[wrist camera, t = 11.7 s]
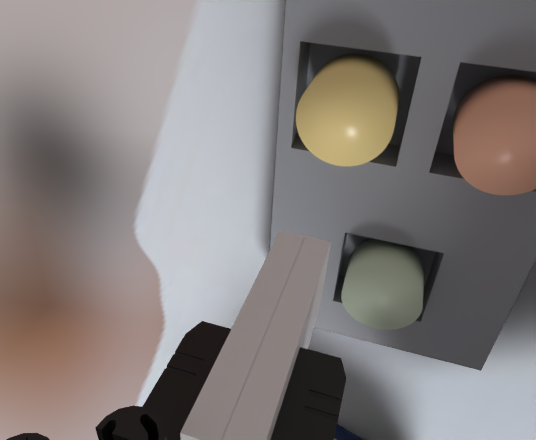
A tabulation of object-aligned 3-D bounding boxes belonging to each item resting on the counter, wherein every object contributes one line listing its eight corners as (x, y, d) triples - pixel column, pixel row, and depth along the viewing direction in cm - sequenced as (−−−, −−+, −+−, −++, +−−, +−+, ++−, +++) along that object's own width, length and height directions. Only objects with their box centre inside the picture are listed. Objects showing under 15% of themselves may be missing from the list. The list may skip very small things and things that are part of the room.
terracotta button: (575, 82, 20) (592, 107, 18) (536, 171, 23) (547, 204, 20) (467, 67, 21) (471, 90, 19) (442, 155, 24) (442, 184, 21)
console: (629, -9, 20) (659, 7, 17) (477, 329, 32) (481, 370, 29) (306, -39, 23) (287, -30, 20) (279, 281, 35) (265, 314, 32)
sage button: (432, 246, 27) (432, 281, 24) (415, 301, 29) (412, 337, 27) (355, 230, 28) (347, 262, 25) (344, 285, 30) (336, 318, 28)
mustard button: (408, 60, 22) (404, 80, 19) (389, 146, 24) (384, 174, 22) (314, 47, 23) (300, 66, 20) (306, 132, 25) (292, 157, 23)
